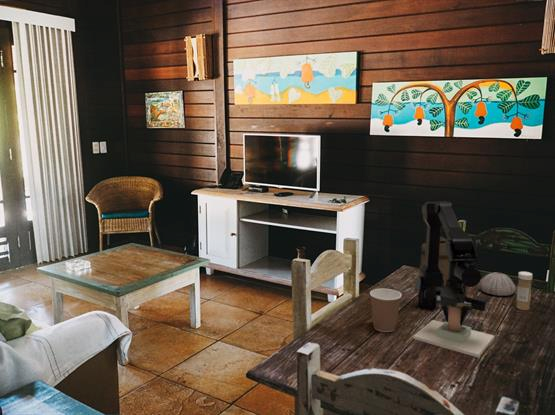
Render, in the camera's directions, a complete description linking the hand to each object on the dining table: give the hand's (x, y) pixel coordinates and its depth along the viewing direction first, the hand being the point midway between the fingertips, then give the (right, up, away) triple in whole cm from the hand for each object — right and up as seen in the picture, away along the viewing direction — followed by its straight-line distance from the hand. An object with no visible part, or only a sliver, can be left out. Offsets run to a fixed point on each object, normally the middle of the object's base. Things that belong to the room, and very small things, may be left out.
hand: (454, 323), depth 154 cm
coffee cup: (-20, -4, +9) cm, 23 cm away
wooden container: (+10, +3, +46) cm, 47 cm away
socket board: (0, -5, +1) cm, 5 cm away
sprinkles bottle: (+34, -1, +26) cm, 43 cm away
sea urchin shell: (+32, +2, +42) cm, 53 cm away
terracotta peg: (0, -2, 0) cm, 2 cm away
